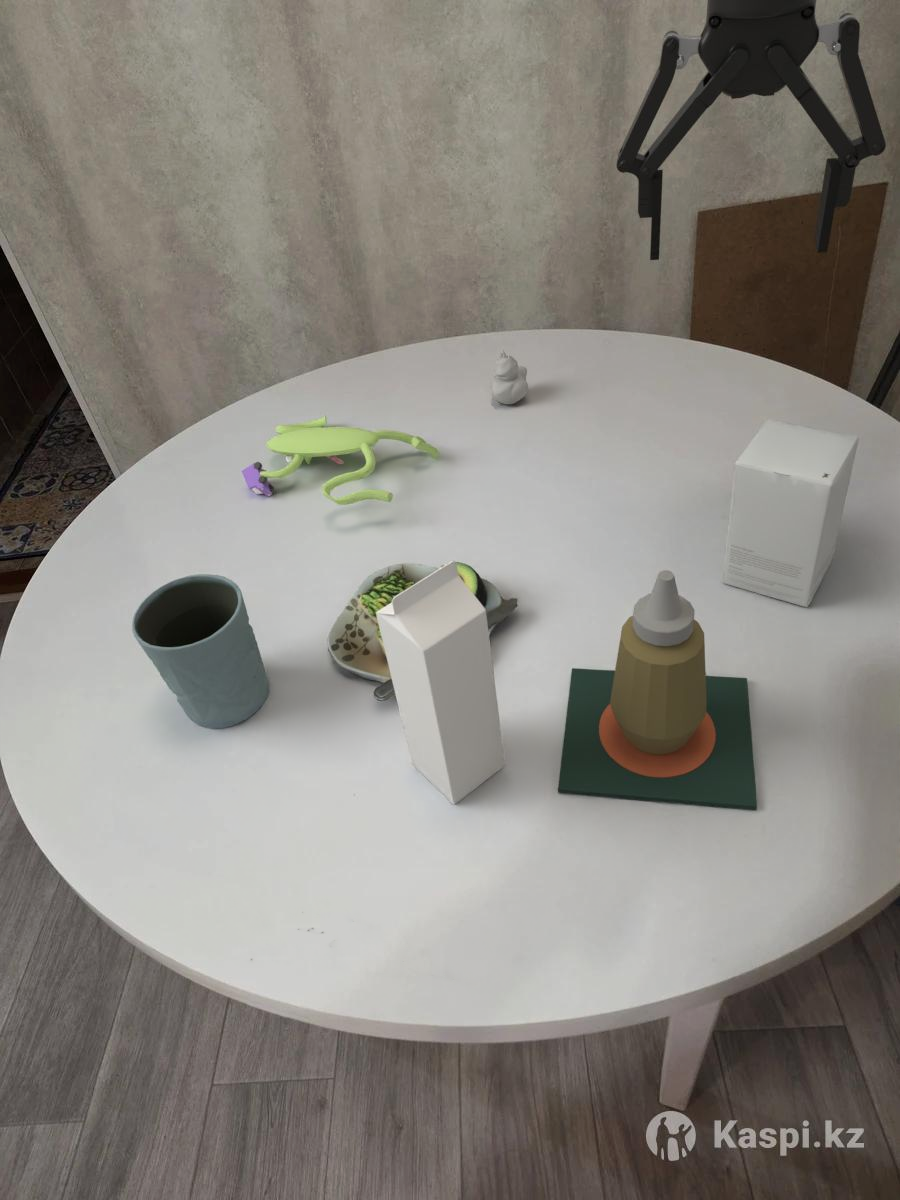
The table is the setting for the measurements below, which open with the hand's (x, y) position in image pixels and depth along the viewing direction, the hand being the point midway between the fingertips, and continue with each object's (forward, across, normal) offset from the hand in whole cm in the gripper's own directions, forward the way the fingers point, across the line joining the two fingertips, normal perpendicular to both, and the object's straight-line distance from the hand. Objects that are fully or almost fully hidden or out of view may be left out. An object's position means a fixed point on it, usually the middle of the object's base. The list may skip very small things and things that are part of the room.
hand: (735, 250), depth 74 cm
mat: (+32, +5, +28) cm, 43 cm away
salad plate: (+32, +29, +16) cm, 46 cm away
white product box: (+32, -7, +5) cm, 33 cm away
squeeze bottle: (+31, +5, +28) cm, 42 cm away
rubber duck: (+32, +26, -31) cm, 52 cm away
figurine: (+32, +46, -12) cm, 57 cm away
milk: (+32, +22, +33) cm, 51 cm away
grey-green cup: (+32, +47, +27) cm, 63 cm away
